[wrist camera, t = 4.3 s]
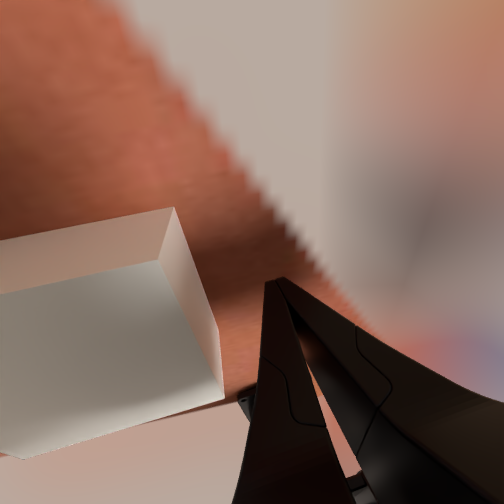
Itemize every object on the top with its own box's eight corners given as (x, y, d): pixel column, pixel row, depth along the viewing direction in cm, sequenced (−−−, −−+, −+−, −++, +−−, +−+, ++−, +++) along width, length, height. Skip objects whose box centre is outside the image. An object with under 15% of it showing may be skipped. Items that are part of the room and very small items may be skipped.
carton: (218, 326, 13) (224, 398, 9) (72, 364, 12) (23, 460, 8) (174, 204, 8) (157, 259, 5) (-66, 250, 7) (-287, 358, 4)
